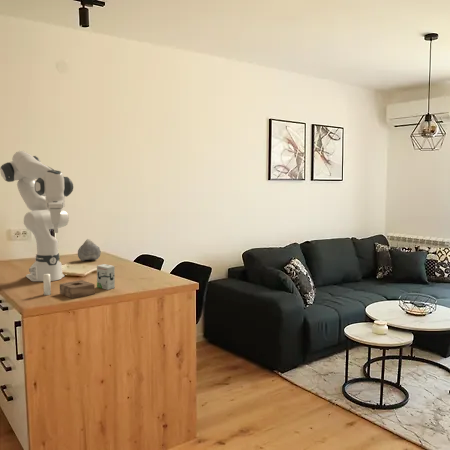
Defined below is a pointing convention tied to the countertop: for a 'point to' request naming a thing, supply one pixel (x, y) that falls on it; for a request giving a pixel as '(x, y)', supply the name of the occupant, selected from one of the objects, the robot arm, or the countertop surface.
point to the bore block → (77, 289)
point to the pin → (47, 284)
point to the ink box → (105, 276)
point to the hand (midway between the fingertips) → (55, 231)
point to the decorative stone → (89, 251)
